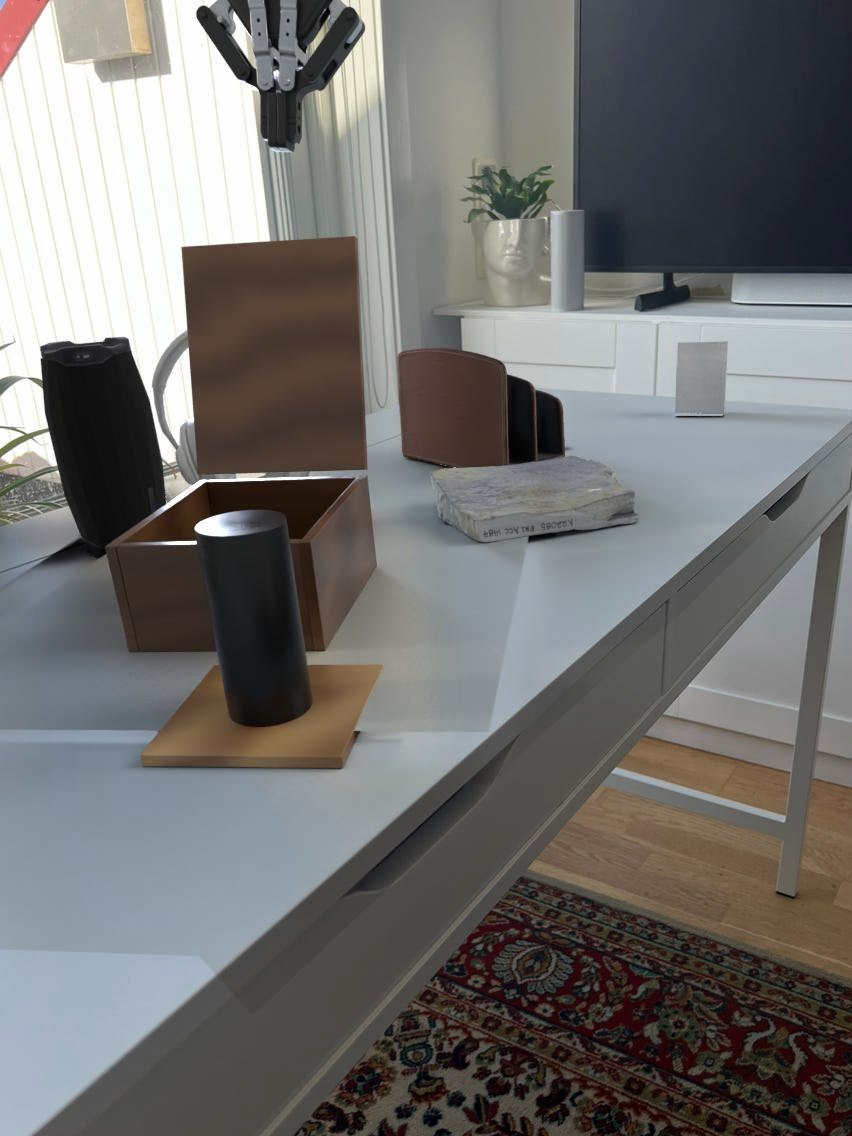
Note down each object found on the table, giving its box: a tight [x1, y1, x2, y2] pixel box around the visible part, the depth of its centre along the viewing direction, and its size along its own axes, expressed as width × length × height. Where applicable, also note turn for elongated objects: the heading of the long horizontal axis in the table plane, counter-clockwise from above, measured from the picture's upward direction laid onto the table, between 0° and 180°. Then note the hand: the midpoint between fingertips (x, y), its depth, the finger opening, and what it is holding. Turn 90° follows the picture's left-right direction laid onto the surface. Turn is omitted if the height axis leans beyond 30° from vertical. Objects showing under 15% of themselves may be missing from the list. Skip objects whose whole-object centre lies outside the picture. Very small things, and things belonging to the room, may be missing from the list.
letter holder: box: [396, 347, 566, 468], centre depth 116 cm, size 10×20×14 cm, turn 42°
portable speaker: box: [39, 336, 167, 558], centre depth 91 cm, size 9×9×20 cm
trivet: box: [139, 663, 385, 769], centre depth 60 cm, size 12×12×1 cm
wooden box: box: [105, 474, 378, 653], centre depth 75 cm, size 18×15×9 cm
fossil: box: [429, 455, 640, 543], centre depth 97 cm, size 20×5×17 cm
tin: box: [194, 510, 313, 727], centre depth 57 cm, size 5×5×12 cm
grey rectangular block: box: [674, 340, 729, 415], centre depth 135 cm, size 4×7×10 cm, turn 75°
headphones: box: [151, 328, 311, 486], centre depth 105 cm, size 19×9×20 cm, turn 94°
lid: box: [180, 235, 368, 475], centre depth 79 cm, size 18×15×1 cm
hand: (280, 149), depth 74 cm, fingers closed
